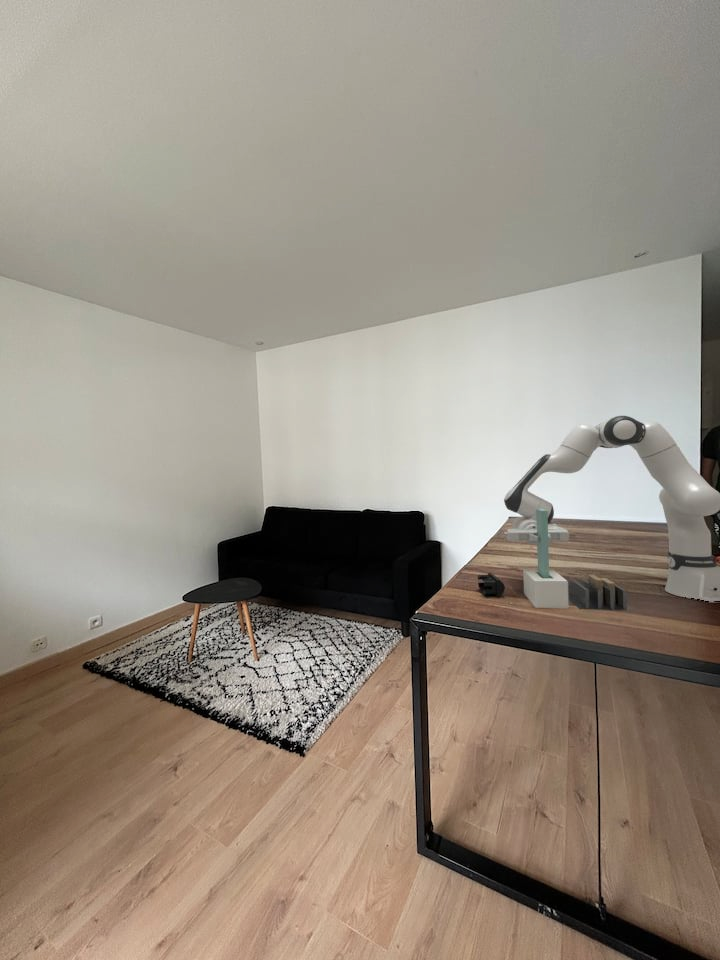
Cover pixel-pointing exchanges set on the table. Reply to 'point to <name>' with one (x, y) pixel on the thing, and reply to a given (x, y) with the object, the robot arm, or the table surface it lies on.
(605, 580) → the offcut small
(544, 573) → the tall sheet
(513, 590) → the table surface
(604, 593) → the rack
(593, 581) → the offcut tall
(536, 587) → the holder
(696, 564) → the robot arm
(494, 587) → the end cap
